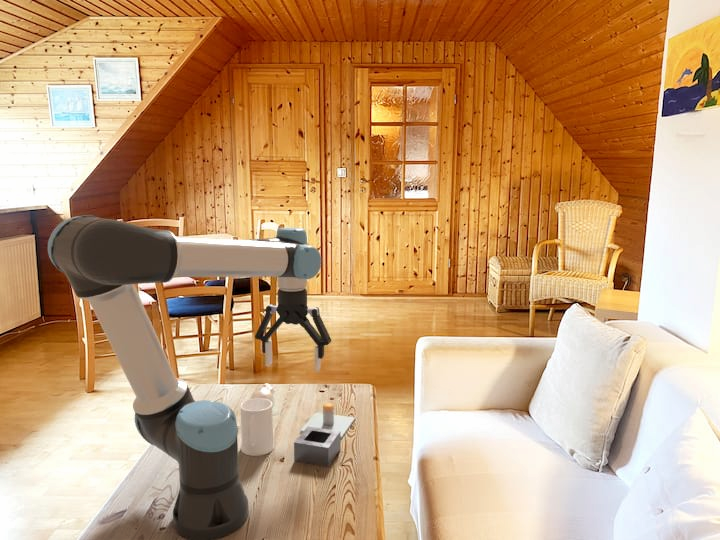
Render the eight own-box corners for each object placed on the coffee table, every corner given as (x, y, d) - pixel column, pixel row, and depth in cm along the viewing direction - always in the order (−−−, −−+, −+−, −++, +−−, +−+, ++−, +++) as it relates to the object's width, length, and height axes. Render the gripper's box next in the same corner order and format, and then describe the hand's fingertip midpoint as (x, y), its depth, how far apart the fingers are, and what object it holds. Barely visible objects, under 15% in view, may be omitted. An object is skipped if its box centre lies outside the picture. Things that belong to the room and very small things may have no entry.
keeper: (341, 438, 147) (341, 417, 145) (300, 432, 150) (300, 411, 149) (355, 419, 158) (355, 399, 157) (316, 414, 161) (316, 394, 160)
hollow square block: (328, 466, 132) (328, 447, 132) (294, 461, 135) (294, 442, 134) (340, 449, 141) (340, 431, 140) (308, 444, 143) (307, 426, 143)
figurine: (268, 372, 173) (265, 381, 158) (285, 388, 173) (283, 398, 158) (244, 396, 172) (239, 408, 157) (261, 413, 172) (257, 425, 157)
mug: (263, 464, 134) (261, 418, 131) (230, 461, 135) (228, 415, 133) (278, 441, 145) (277, 399, 143) (248, 438, 146) (246, 396, 144)
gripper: (343, 288, 140) (342, 367, 144) (253, 282, 146) (255, 358, 150) (334, 294, 133) (334, 376, 137) (241, 288, 139) (243, 367, 143)
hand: (293, 367), depth 143 cm, fingers open, 13 cm apart
